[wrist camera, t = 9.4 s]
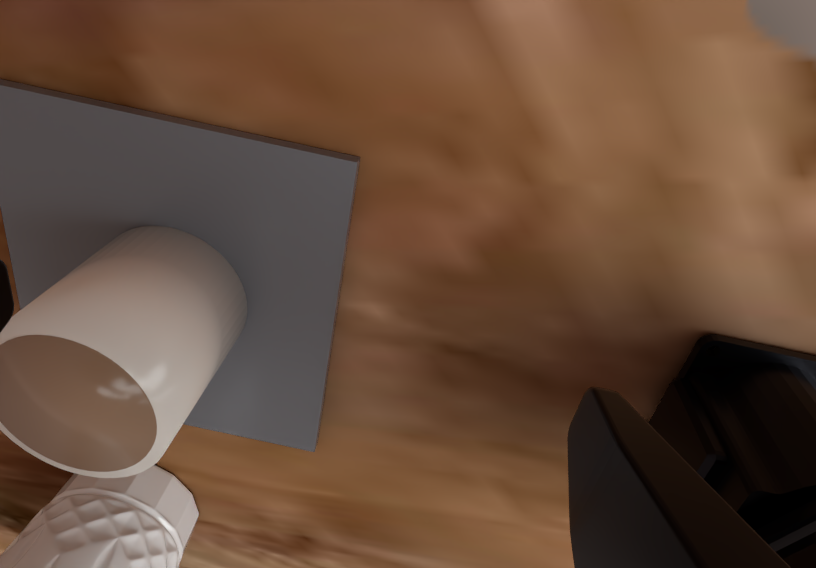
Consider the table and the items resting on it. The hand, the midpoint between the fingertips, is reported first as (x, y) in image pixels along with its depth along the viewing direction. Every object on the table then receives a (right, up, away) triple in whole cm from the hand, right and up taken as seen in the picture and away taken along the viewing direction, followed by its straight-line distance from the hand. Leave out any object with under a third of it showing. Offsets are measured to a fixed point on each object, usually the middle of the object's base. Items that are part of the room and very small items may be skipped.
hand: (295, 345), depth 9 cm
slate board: (-8, +1, +14) cm, 16 cm away
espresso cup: (-8, +1, +14) cm, 16 cm away
